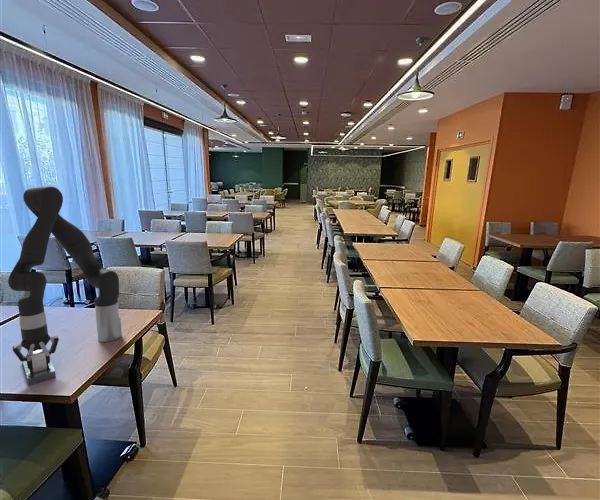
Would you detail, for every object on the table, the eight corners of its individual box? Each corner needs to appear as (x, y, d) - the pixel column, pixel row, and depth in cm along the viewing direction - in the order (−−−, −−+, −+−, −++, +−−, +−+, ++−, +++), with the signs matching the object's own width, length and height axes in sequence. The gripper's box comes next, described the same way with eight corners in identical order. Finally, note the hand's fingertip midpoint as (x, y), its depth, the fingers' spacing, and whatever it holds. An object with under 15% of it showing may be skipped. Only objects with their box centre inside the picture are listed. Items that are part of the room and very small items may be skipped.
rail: (47, 356, 138) (46, 350, 137) (55, 377, 124) (55, 371, 124) (22, 362, 132) (21, 357, 132) (28, 385, 119) (27, 379, 118)
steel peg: (45, 367, 127) (43, 348, 126) (47, 371, 125) (44, 352, 123) (32, 371, 125) (29, 351, 123) (34, 375, 122) (31, 356, 120)
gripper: (8, 333, 113) (15, 378, 117) (59, 322, 123) (64, 364, 126) (7, 326, 118) (13, 369, 122) (55, 316, 128) (60, 356, 132)
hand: (39, 366), depth 124 cm, fingers closed on steel peg, 4 cm apart
